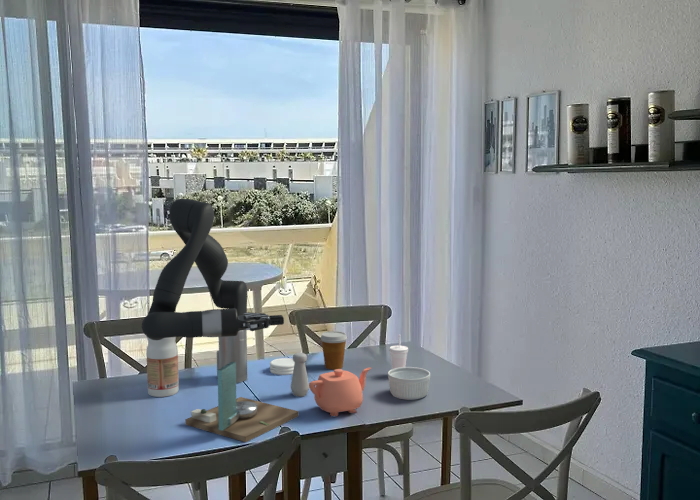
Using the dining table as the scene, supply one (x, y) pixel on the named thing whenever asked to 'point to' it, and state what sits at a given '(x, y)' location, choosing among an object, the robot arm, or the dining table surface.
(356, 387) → the teapot
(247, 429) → the wooden cutting board
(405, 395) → the ramekin
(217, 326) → the robot arm
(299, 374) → the salt shaker
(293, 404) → the dining table surface
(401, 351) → the smoothie
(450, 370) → the dining table surface
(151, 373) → the fruit juice
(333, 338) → the disposable coffee cup
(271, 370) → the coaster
